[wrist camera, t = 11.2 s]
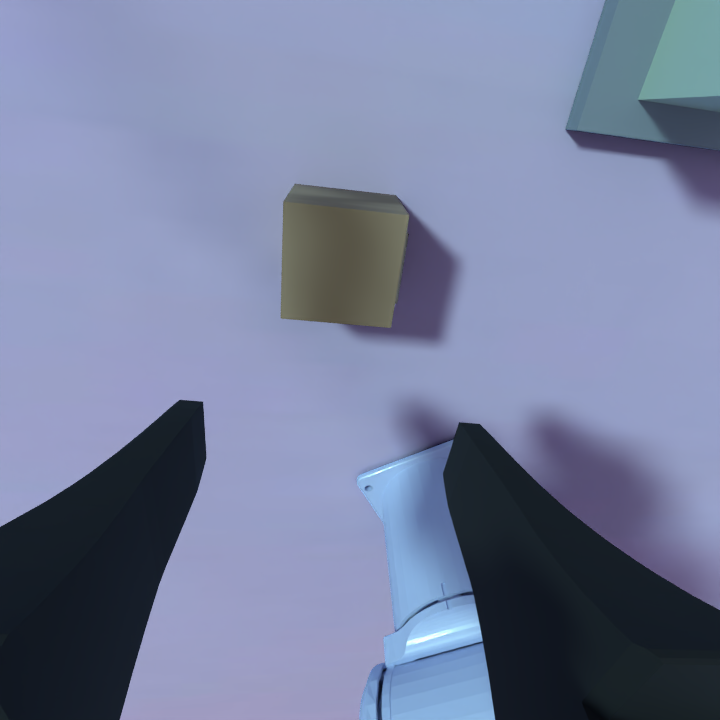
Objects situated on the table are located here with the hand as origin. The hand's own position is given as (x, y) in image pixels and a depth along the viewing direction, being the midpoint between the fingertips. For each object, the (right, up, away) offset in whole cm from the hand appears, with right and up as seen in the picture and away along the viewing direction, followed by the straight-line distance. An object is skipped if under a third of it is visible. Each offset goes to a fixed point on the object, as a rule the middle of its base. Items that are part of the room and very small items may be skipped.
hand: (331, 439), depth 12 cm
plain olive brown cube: (0, +8, +8) cm, 11 cm away
